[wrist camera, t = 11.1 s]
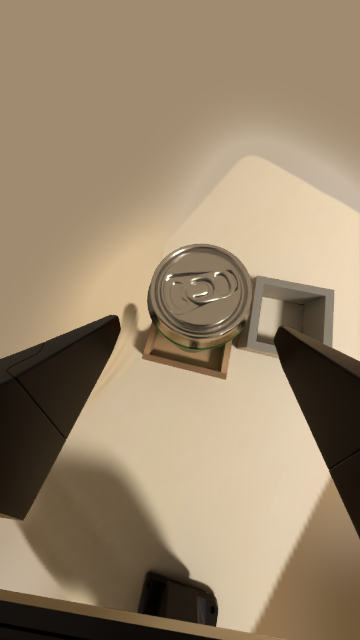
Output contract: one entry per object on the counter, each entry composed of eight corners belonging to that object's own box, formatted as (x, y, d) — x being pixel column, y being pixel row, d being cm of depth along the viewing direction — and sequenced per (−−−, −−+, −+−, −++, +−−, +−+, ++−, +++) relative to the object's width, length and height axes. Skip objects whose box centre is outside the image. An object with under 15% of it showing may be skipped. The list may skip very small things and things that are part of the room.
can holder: (307, 364, 18) (331, 366, 15) (237, 348, 18) (246, 347, 15) (311, 300, 19) (334, 290, 16) (246, 287, 20) (257, 275, 17)
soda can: (166, 315, 19) (131, 250, 7) (207, 305, 19) (239, 224, 7) (175, 357, 18) (154, 363, 6) (219, 346, 18) (282, 331, 6)
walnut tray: (221, 376, 18) (225, 379, 16) (146, 358, 18) (141, 358, 16) (234, 303, 19) (239, 298, 17) (165, 289, 20) (163, 282, 18)
